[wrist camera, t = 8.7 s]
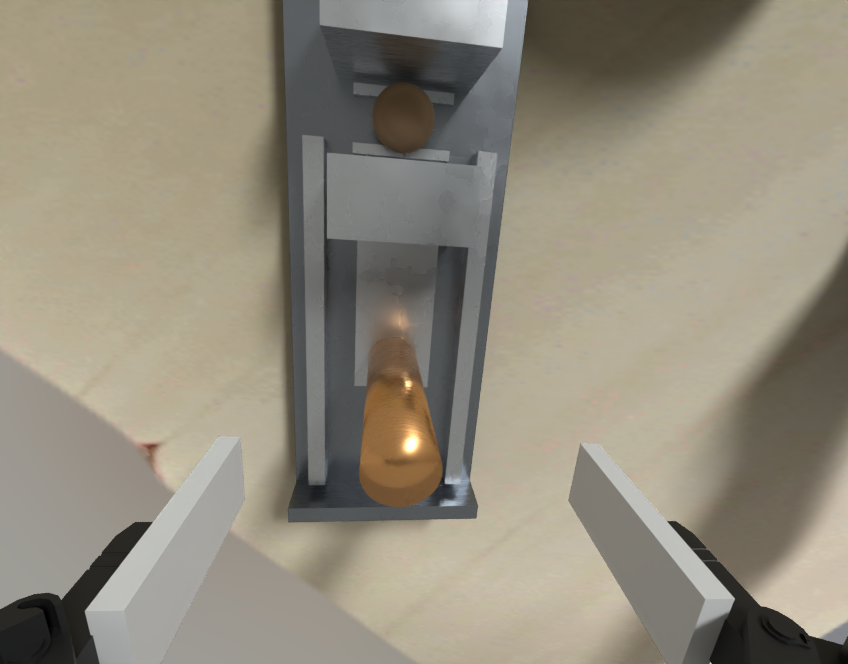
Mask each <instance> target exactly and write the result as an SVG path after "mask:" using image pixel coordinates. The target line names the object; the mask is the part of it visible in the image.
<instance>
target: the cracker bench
mask: <svg viewBox="0 0 848 664" xmlns="http://www.w3.org/2000/svg"><path fill="white" fill-rule="evenodd" d="M527 6H528V0H283V29H284V64H285V99H286V134H287V168H288V203H289V238H290V273H291V308H292V342H293V377H294V412H295V447H296V485H295V488H294V491H293V494H292V497H291V501H290V504H289V507H288V522H327V521H375V520H424V519H472V518H476V517H477V509H478V504H477V501H476V498H475V495H474V492H473V489H472V486H471V483H470V472H471V464H472V456H473V448H474V440H475V431H476V423H477V415H478V407H479V399H480V391H481V382H482V374H483V366H484V358H485V350H486V341H487V333H488V325H489V317H490V309H491V301H492V292H493V284H494V276H495V268H496V260H497V252H498V243H499V235H500V227H501V219H502V211H503V203H504V194H505V186H506V178H507V170H508V162H509V153H510V145H511V137H512V129H513V121H514V113H515V104H516V96H517V88H518V80H519V72H520V64H521V55H522V47H523V39H524V31H525V23H526V14H527ZM397 82H408V83H412V84H415V85H417V86H418V87H420V88H421V89H422V90H423V91H424V92H425V93H426V94H427V95H428V97H429V98H430V100H431V102H432V105H433V108H434V113H435V124H434V128H433V132H432V134H431V136H430V138H429V140H428V141H427V142H426V143H425V144H424V145H423V146H422V147H421V148H419V149H418V150H416V151H413V152H410V153H399V152H395V151H393V150H391V149H389V148H388V147H386V146H385V145H384V144H383V143H382V142H381V141H380V139H379V138H378V136H377V134H376V132H375V130H374V126H373V121H372V113H373V107H374V103H375V101H376V99H377V97H378V95H379V94H380V93H381V92H382V91H383V90H384V89H385V88H386V87H388V86H389V85H391V84H394V83H397ZM327 153H337V154H348V155H359V156H371V157H382V158H393V159H405V160H416V161H427V162H439V163H450V164H461V165H472V166H482V173H481V183H480V193H479V202H478V212H477V221H476V231H475V240H474V248H470V247H454V246H438V259H437V271H436V284H435V296H434V309H433V322H432V334H431V347H430V360H429V372H428V385H427V387H424V391H425V395H426V399H427V403H428V407H429V411H430V416H431V420H432V424H433V428H434V432H435V437H436V441H437V445H438V449H439V453H440V458H441V462H442V468H443V469H442V478H441V481H440V483H439V485H438V487H437V488H436V490H435V491H434V492H433V493H432V494H431V495H430V496H429V497H428V498H426V499H425V500H423V501H421V502H419V503H417V504H415V505H411V506H407V507H390V506H386V505H383V504H380V503H378V502H376V501H374V500H373V499H372V498H370V497H369V496H368V495H367V493H366V492H365V491H364V489H363V487H362V485H361V483H360V478H359V469H360V457H361V445H362V433H363V421H364V409H365V397H366V386H354V383H355V334H356V284H357V240H343V239H327Z"/></svg>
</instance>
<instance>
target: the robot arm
mask: <svg viewBox="0 0 848 664" xmlns="http://www.w3.org/2000/svg"><path fill="white" fill-rule="evenodd" d="M244 500H245V490H244V477H243V463H242V450H241V437H224V436H219V437H218V438H217V440H216V441H215V442H214V443H213V445H212V446H211V447H210V449H209V450H208V451H207V453H206V454H205V455H204V456H203V458H202V459H201V460H200V462H199V463H198V464H197V466H196V467H195V468H194V470H193V471H192V472H191V473H190V475H189V476H188V477H187V479H186V480H185V481H184V483H183V484H182V485H181V486H180V488H179V489H178V490H177V492H176V493H175V494H174V496H173V497H172V498H171V500H170V501H169V502H168V503H167V505H166V506H165V507H164V509H163V510H162V511H161V513H160V514H159V515H158V517H157V518H156V519H155V520H154V522H135V523H133V524H132V525H130V526H129V527H128V528H126V529H125V530H124V531H122V532H121V533H119V534H118V535H117V536H115V538H114V539H113V540H112V541H111V542H110V543H109V545H108V546H107V547H106V548H105V549H104V550H103V552H102V554H101V556H98V558H97V559H96V560H95V561H94V562H93V563H92V565H91V566H90V569H89V570H87V571H86V572H85V573H84V574H83V575H82V577H81V578H80V579H79V580H78V581H77V582H76V583H75V585H74V586H73V587H72V588H71V589H70V591H69V592H68V593H67V594H66V595H65V596H64V598H63V599H62V600H61V599H60V598H59V596H58V595H54V594H51V593H42V594H34V595H31V596H28V597H25V598H22V599H19V600H17V601H15V602H13V603H11V604H9V605H8V606H6V607H4V608H2V609H0V664H161V662H162V660H163V658H164V657H165V654H166V653H167V651H168V648H169V647H170V645H171V643H172V641H173V639H174V637H175V635H176V633H177V631H178V629H179V627H180V625H181V623H182V621H183V619H184V617H185V615H186V613H187V611H188V609H189V608H190V606H191V604H192V602H193V600H194V598H195V596H196V594H197V592H198V590H199V588H200V586H201V584H202V582H203V580H204V578H205V576H206V574H207V572H208V570H209V568H210V567H211V564H212V563H213V561H214V559H215V557H216V555H217V553H218V551H219V549H220V547H221V545H222V543H223V541H224V539H225V537H226V535H227V533H228V531H229V529H230V527H231V525H232V523H233V522H234V520H235V518H236V516H237V514H238V512H239V510H240V508H241V506H242V504H243V502H244ZM568 501H569V502H570V504H571V506H572V507H573V509H574V511H575V512H576V514H577V516H578V517H579V519H580V521H581V522H582V524H583V526H584V527H585V529H586V531H587V532H588V534H589V536H590V537H591V539H592V541H593V542H594V544H595V546H596V547H597V549H598V551H599V552H600V554H601V556H602V557H603V559H604V561H605V562H606V564H607V566H608V567H609V569H610V570H611V572H612V574H613V575H614V577H615V579H616V580H617V582H618V584H619V585H620V587H621V589H622V590H623V592H624V594H625V595H626V597H627V599H628V600H629V602H630V604H631V605H632V607H633V609H634V610H635V612H636V614H637V615H638V617H639V619H640V620H641V622H642V624H643V625H644V627H645V629H646V630H647V632H648V634H649V635H650V637H651V639H652V640H653V642H654V643H655V645H656V647H657V648H658V650H659V652H660V653H661V655H662V657H663V658H664V660H665V662H666V663H667V664H709V663H710V662H711V663H712V664H848V637H847V639H846V641H845V642H844V644H843V645H841V644H837V643H834V642H830V641H826V640H823V639H819V638H815V637H812V636H809V635H808V634H807V633H806V632H805V630H804V629H803V628H801V627H800V626H799V625H798V624H796V623H795V622H794V621H793V620H791V619H790V618H788V617H787V616H785V615H783V614H781V613H780V612H778V611H775V610H773V609H770V608H767V607H761V606H760V605H759V604H758V603H757V602H756V601H755V600H754V599H753V598H752V597H751V596H750V594H749V593H748V592H747V591H746V590H745V589H744V588H743V587H742V586H741V585H740V584H739V583H738V581H737V580H736V579H735V578H734V577H733V576H732V575H731V574H730V573H729V572H728V571H727V570H726V569H725V567H724V566H723V565H722V564H721V563H720V562H717V559H716V558H715V557H714V556H713V555H712V553H711V552H710V551H709V550H706V547H705V546H704V545H703V544H702V543H701V542H700V540H699V539H698V538H697V537H696V536H695V535H694V534H693V533H692V532H690V531H689V530H687V529H686V528H685V527H683V526H682V525H680V524H679V523H678V522H676V521H666V520H665V519H664V518H663V516H662V515H661V514H660V513H659V512H658V511H657V510H656V508H655V507H654V506H653V505H652V504H651V503H650V502H649V500H648V499H647V498H646V497H645V496H644V495H643V494H642V492H641V491H640V490H639V489H638V488H637V487H636V486H635V485H634V483H633V482H632V481H631V480H630V479H629V478H628V477H627V475H626V474H625V473H624V472H623V471H622V470H621V469H620V467H619V466H618V465H617V464H616V463H615V462H614V461H613V459H612V458H611V457H610V456H609V455H608V454H607V453H606V452H605V450H604V449H603V448H602V447H601V446H600V445H599V444H584V443H580V448H579V453H578V457H577V462H576V467H575V472H574V476H573V481H572V486H571V490H570V495H569V500H568Z"/></svg>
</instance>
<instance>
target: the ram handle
mask: <svg viewBox="0 0 848 664" xmlns="http://www.w3.org/2000/svg"><path fill="white" fill-rule="evenodd" d="M481 173H482V166H472V165H461V164H450V163H439V162H427V161H416V160H405V159H393V158H382V157H371V156H359V155H348V154H337V153H327V239H343V240H357V284H356V334H355V383H354V386H366V397H365V409H364V421H363V433H362V445H361V457H360V469H359V478H360V483H361V485H362V487H363V489H364V491H365V492H366V493H367V495H368V496H369V497H370V498H372V499H373V500H374V501H376V502H378V503H380V504H383V505H386V506H390V507H407V506H411V505H415V504H417V503H419V502H421V501H423V500H425V499H426V498H428V497H429V496H430V495H431V494H432V493H433V492H434V491H435V490H436V488H437V487H438V485H439V483H440V481H441V478H442V469H443V468H442V462H441V458H440V453H439V449H438V445H437V441H436V437H435V432H434V428H433V424H432V420H431V416H430V411H429V407H428V403H427V399H426V395H425V391H424V387H427V385H428V372H429V360H430V347H431V334H432V322H433V309H434V296H435V284H436V271H437V259H438V246H454V247H470V248H474V240H475V231H476V221H477V212H478V202H479V193H480V183H481Z"/></svg>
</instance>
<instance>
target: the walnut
mask: <svg viewBox="0 0 848 664" xmlns="http://www.w3.org/2000/svg"><path fill="white" fill-rule="evenodd" d="M372 121H373V126H374V130H375V132H376V134H377V136H378V138H379V139H380V141H381V142H382V143H383V144H384V145H385V146H386V147H388V148H389V149H391V150H393V151H395V152H399V153H410V152H413V151H416V150H418V149H419V148H421V147H422V146H423V145H424V144H425V143H426V142H427V141H428V140H429V138H430V136H431V134H432V132H433V128H434V124H435V113H434V108H433V105H432V102H431V100H430V98H429V97H428V95H427V94H426V93H425V92H424V91H423V90H422V89H421V88H420V87H418V86H417V85H415V84H412V83H408V82H397V83H394V84H391V85H389V86H388V87H386V88H385V89H384V90H383V91H382V92H381V93H380V94H379V95H378V97H377V99H376V101H375V103H374V107H373V113H372Z"/></svg>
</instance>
